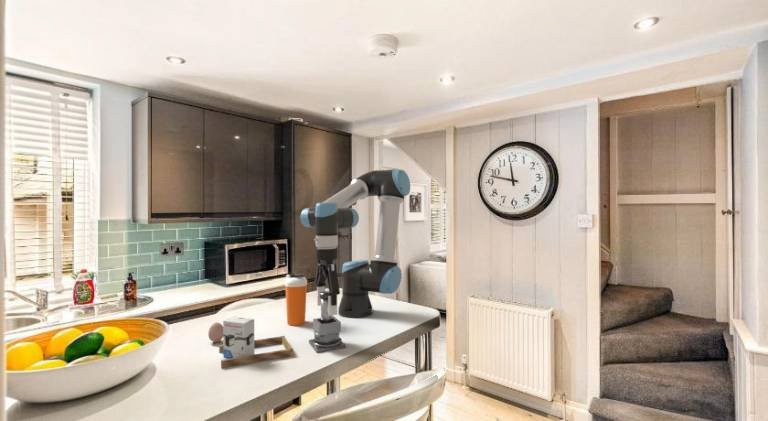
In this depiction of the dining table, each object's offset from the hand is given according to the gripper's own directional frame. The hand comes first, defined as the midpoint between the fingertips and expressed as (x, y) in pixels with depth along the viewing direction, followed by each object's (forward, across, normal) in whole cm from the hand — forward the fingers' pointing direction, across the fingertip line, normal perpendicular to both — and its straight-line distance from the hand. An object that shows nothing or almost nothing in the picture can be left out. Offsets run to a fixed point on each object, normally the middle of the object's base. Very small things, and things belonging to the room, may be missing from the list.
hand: (326, 309), depth 130 cm
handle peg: (+7, 0, 0) cm, 7 cm away
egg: (+12, -20, -34) cm, 41 cm away
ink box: (+12, -3, -28) cm, 31 cm away
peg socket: (+12, 0, 0) cm, 12 cm away
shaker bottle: (+12, -29, -4) cm, 32 cm away
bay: (+12, -3, -23) cm, 26 cm away
